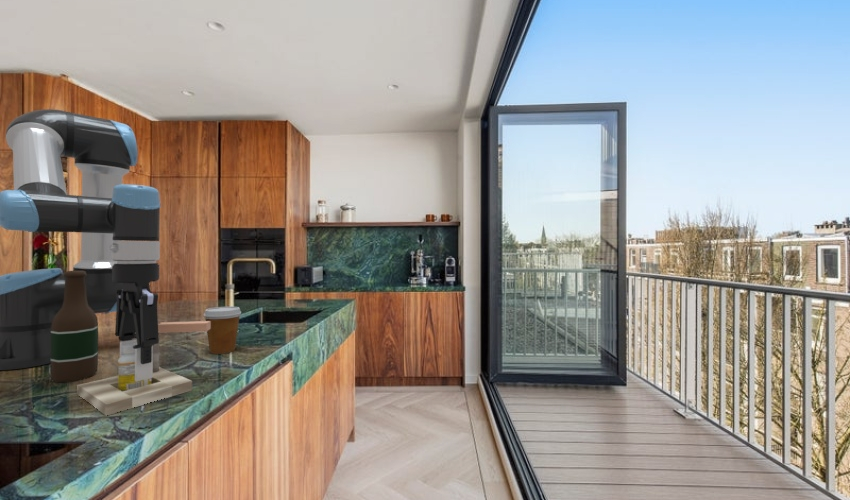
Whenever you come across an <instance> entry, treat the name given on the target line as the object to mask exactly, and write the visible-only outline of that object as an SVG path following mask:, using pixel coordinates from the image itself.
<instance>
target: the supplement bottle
mask: <svg viewBox="0 0 850 500" xmlns="http://www.w3.org/2000/svg"><path fill="white" fill-rule="evenodd" d="M135 345H137V343H132V344H127V345H123V346H122V353H123V354H124V355H123V356H121V357H120V356H119V358H118V360H117V371H118V372H117V376H118V385H119V390H120V391H122V392H123V391H127V390H130V389H134V388H138V387H142V386H146V385H150V384H152V378H149V379H145V380H141V381H137V382H136V381H135V349H133V346H135Z"/></svg>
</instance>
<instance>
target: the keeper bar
mask: <svg viewBox="0 0 850 500" xmlns="http://www.w3.org/2000/svg"><path fill="white" fill-rule="evenodd" d="M209 329H211V321H206V320H205V321H203V320H201V321H200V320H199V321H198V320H197V321H195V320H194V321H168V322H165V321H163V322H161V321H160V322H159V321H158V333H159V334H160V333H161V334H162V333H187V332H188V333H193V332H207V331H208V330H209Z"/></svg>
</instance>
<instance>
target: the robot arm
mask: <svg viewBox="0 0 850 500" xmlns="http://www.w3.org/2000/svg"><path fill="white" fill-rule="evenodd" d="M5 141H6V143H7V145H8V148H10V149H11V150H12V166H13V167H12V168H13V171H12V172H13V189H5V190H1V191H0V227H1V228H2V229H4V230H9V231H23V232H24V231H25V232H28V233H35V232H42V233H43V232H44V233H49V232H50V233H51V232H52V233H54V232H55V233H80V234H81V236H80V238H81V241H80V260H79V261H77V262H76V263H75V264H73V267H72V271H86V274H87V275H86V276H85V283H86V296H87V302H88V306H89V307H90V308H91V309H92V310H93V311H94V312H95V314H109V313H113V312H116V313H115V331H114V332H115V333H114V335H115V337H118V341H119V358H120V357H121V356H123V355H124V354H123V353H122V346H123V345H127V344H132V343H137V345H135V346H133V349H135V381H136V382H137V381H141V380H145V379H149V378H153V345H154V344H158V342H159V343H160V337H159V338H158V322H159V321H158V302H159V301H158V299H159V295H158V293H157V292H156V293H155V292H153V293H152V290H151V286H150V283H151V282H152V283H153V282H157V281H159V279H160V264H159V263H157V261H159V260H160V259H161V258H160V257H161V255H160V254H161V243H160V242H161V241H160V219H161V218H160V216H161V215H160V214H161V213H160V212H161V210H160V209H161V207H162V205H161V204H162V203H161V200H160V191H159V190H158V189H157V188H156V187H152V186H148V185H141V184H129V183H128V184H126V183H123V182H124V181H123V179H124V176H125V175H127V174H128V173H130V171H131V170H130V169H131V168H130V167H134V166H136V165H137V163H138V156H139V155H138V154H139V153H138V145H137V144H138V143H137V138H136V136H135V132H134V131H133V129H132V128H131V126H129V125H128V124H127V123H126V124H125V123H121V122H118V121H115V120H112V119H106V118H101V117H97V116H90V115H85V114H80V113H74V112H70V111H67V110H61V109H53V108H52V109H51V108H49V109H47V108H46V109H38V110H37V109H36V110H32V111H28V112H26V113H23V114H21V115H19V116H17V117H15V118H14V119H13V120H12V121H10V123H9V125H8V126H7V128H6V130H5ZM61 157H66V158H73V159H74V164H73V165H74V166H75V167H76V168H77V169H78V170H79V171H80V172H81V195H75V194H68V191H67V187H66V181H65V176H64V170H63V164H62V159H61ZM64 274H65V272H63V269H62V268H60V267H54V268H41V269H31V270H24V271H16V272H8V273H6V274H2V275H0V371H9V370H10V371H11V370H19V369H27V368H33V367H39V366H42V365H48V364H51V325H52V321H53V319H54V317H55V315H56V314H57V313H58V312H59V310H60V309H61V308H62V305H63V301H64V291H65V280H66V277H65V276H64Z"/></svg>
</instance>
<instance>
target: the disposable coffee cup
mask: <svg viewBox="0 0 850 500" xmlns="http://www.w3.org/2000/svg"><path fill="white" fill-rule="evenodd" d="M241 314H242V311H241V309H240V307H239V306H218V307H217V306H216V307H215V306H214V307H209V308H206V309H205V311H204V313H203V314H202V315H203V317H204V320H205V321H211V329H209V330H208V331H206V334H207V340H208V341H207V342H208V348H209V353H210V354H214V355H217V354H220V355H221V354H229V353H231V352H234V351H235V350H236V343H237V336H238V330H239V321H240V316H241Z"/></svg>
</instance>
